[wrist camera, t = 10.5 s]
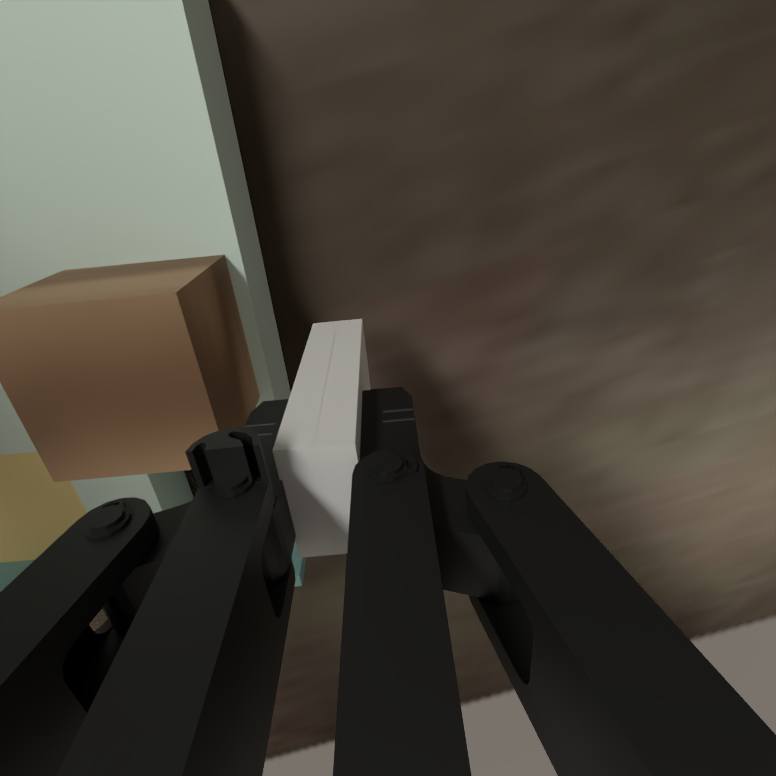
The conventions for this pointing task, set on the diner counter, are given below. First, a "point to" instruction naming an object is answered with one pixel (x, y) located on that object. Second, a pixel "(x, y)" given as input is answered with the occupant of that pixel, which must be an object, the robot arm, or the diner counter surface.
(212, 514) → the robot arm
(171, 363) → the walnut block
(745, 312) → the diner counter surface
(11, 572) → the board
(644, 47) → the diner counter surface
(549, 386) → the diner counter surface
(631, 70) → the diner counter surface
